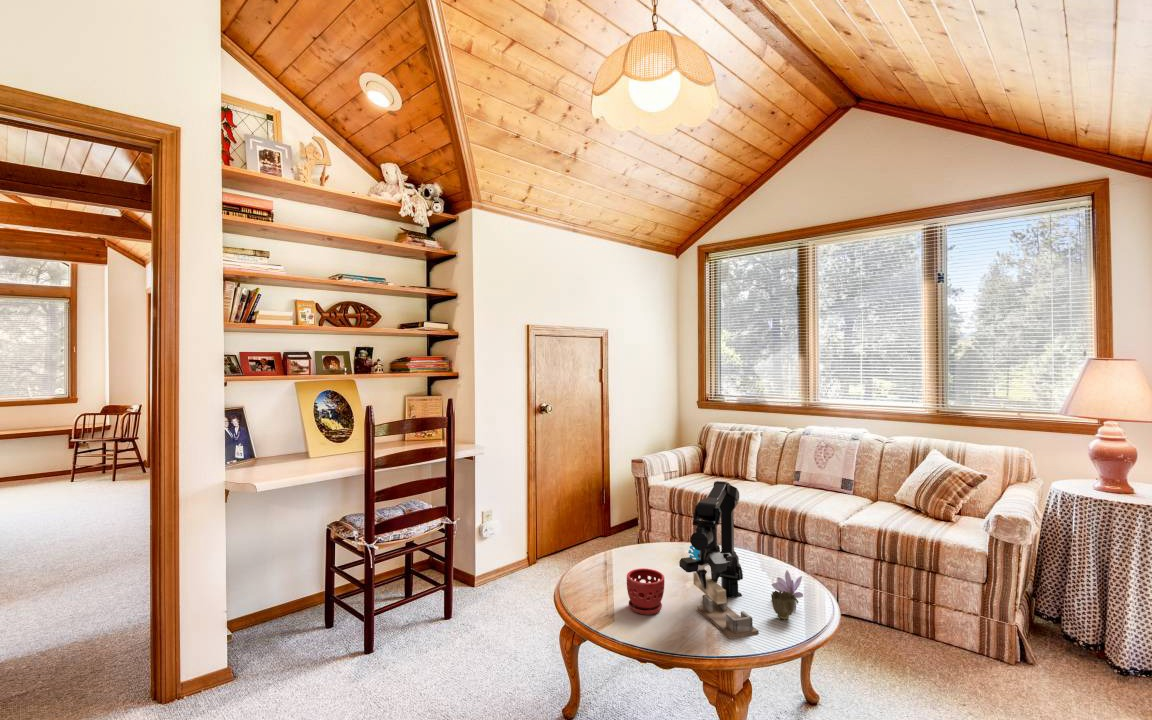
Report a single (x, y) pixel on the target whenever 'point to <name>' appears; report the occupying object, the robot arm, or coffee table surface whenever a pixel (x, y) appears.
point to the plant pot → (645, 591)
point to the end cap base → (727, 618)
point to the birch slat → (711, 589)
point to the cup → (783, 604)
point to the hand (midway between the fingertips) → (709, 588)
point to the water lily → (788, 587)
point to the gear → (694, 553)
